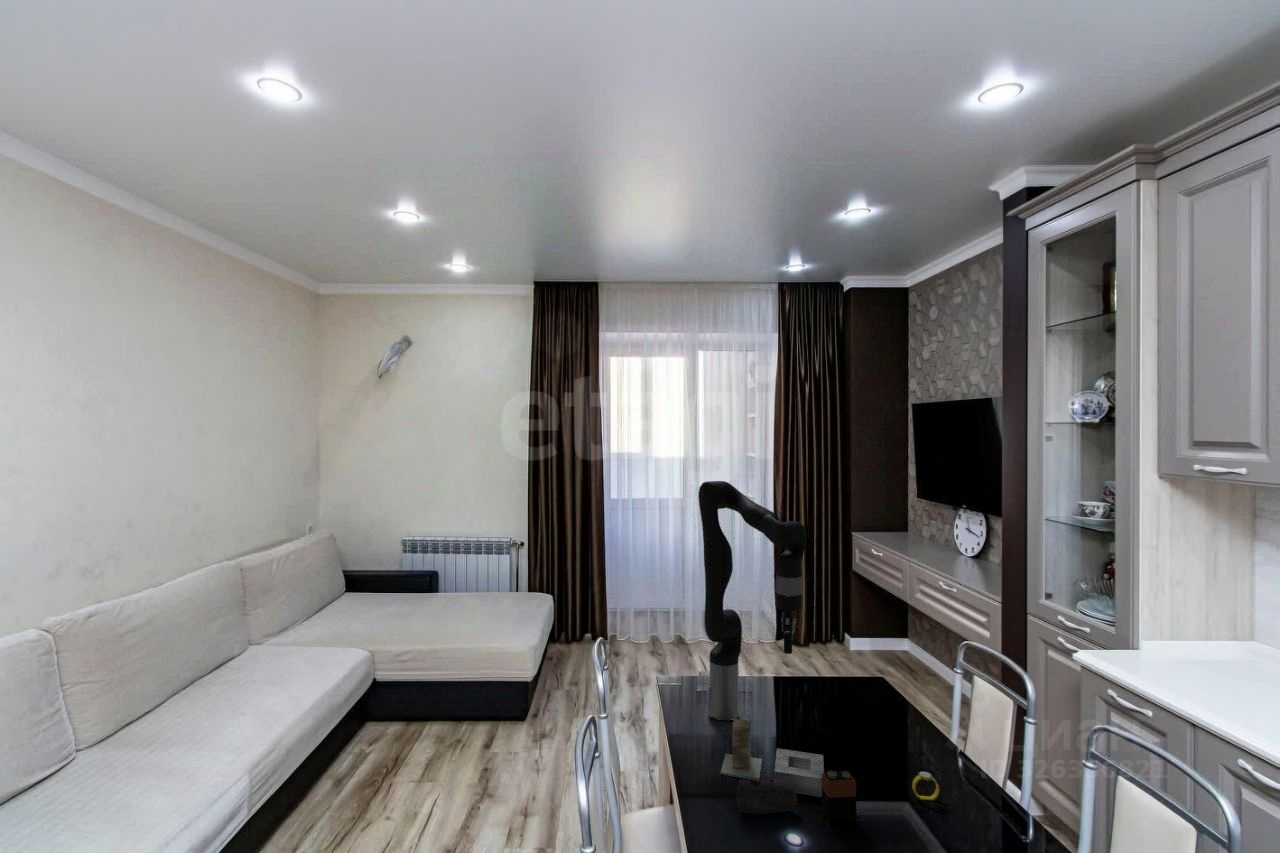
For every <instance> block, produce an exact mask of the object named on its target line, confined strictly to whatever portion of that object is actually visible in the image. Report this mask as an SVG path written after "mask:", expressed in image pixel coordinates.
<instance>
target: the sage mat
mask: <svg viewBox="0 0 1280 853" xmlns="http://www.w3.org/2000/svg"><path fill="white" fill-rule="evenodd" d="M761 765H763V758H759V757H758V758H757V757H753V756H751V766H750V771H746V770H740V769H734V768H732V754H731V753H725V754H724V760H723V761H722V766H721V770H720V775H721V774H724V775H723V776H727V775H728V777H735V778H740V779H745V780H761V779H760V777H761V773H760V772H761V771H762V766H761Z"/></svg>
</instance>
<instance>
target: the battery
mask: <svg viewBox="0 0 1280 853" xmlns="http://www.w3.org/2000/svg"><path fill="white" fill-rule="evenodd" d="M821 812H822V813H823V815H824V816H825V818H826V819H827V821H828V823H835V822H836V823H838V822H841V823H842V822H855V821H857V781H856V779H855V778H854V777H853V776H852V775H851V773H850V772H849V771H845V770H844V771H834V770H829V771H826V772H824V773H822V797H821Z"/></svg>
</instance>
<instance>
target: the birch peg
mask: <svg viewBox="0 0 1280 853" xmlns="http://www.w3.org/2000/svg"><path fill="white" fill-rule="evenodd" d="M731 729H732V736H731V737H732V740H731V741H732V750H731V751H732V768H734V769H740V770H746V771H750V766H751V757H752V720H746V719H738V718H737V719H734V720H733V723H732V728H731Z"/></svg>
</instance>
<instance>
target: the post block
mask: <svg viewBox="0 0 1280 853" xmlns="http://www.w3.org/2000/svg"><path fill="white" fill-rule="evenodd" d="M774 763H775V765H774V781H773V782H774V783H779V784H782V785H785V786H787V787H789V788H791V789H792V790H794V791H795V793H796V794H799V795H805V796H811V797H816V798H817V797H818V798H822V773H825V767H824V766H825V765H824V754H819V753H818V754H817V753H811V752H804V751H797V750H791V749H785V748H783V749H782V748H776V753H775V761H774Z"/></svg>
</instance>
